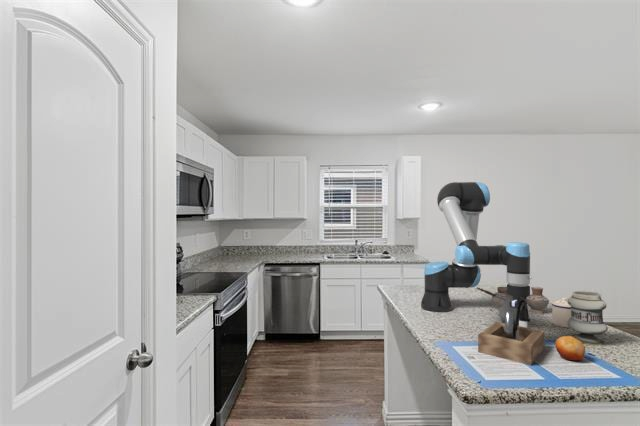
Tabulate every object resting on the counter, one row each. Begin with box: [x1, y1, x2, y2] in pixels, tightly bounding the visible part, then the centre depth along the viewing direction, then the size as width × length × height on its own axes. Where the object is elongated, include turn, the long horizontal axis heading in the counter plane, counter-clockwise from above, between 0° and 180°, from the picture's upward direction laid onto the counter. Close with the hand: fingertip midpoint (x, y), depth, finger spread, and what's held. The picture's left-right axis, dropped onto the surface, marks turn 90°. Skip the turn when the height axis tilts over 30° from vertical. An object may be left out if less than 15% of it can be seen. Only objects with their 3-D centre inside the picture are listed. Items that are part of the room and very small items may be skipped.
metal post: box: [504, 311, 513, 339], centre depth 120 cm, size 4×4×14 cm
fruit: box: [555, 335, 586, 361], centre depth 116 cm, size 8×8×8 cm
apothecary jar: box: [567, 290, 609, 346], centre depth 132 cm, size 12×12×18 cm
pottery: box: [491, 286, 550, 314], centre depth 175 cm, size 11×25×12 cm, turn 69°
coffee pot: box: [475, 286, 521, 326], centre depth 156 cm, size 21×12×15 cm, turn 80°
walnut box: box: [477, 321, 546, 366], centre depth 123 cm, size 16×20×6 cm
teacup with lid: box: [551, 297, 571, 329], centre depth 152 cm, size 12×9×12 cm
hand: (518, 343), depth 129 cm, fingers open, 12 cm apart
